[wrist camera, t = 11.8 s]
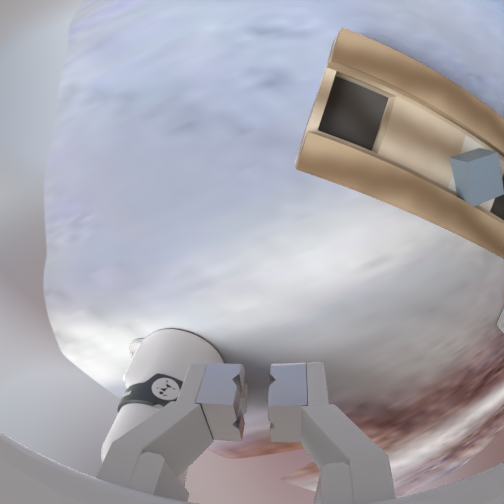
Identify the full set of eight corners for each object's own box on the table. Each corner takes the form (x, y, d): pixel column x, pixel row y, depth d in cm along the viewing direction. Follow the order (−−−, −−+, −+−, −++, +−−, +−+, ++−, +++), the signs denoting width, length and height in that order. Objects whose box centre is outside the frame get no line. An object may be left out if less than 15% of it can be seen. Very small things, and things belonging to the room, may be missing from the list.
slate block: (457, 197, 30) (474, 206, 26) (449, 157, 28) (466, 162, 25) (486, 186, 29) (504, 194, 25) (479, 147, 27) (497, 152, 24)
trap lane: (498, 251, 35) (515, 265, 30) (294, 163, 34) (296, 169, 29) (532, 157, 28) (553, 164, 24) (334, 39, 27) (341, 27, 23)
